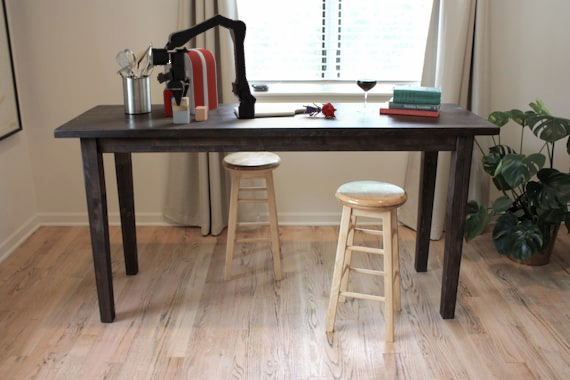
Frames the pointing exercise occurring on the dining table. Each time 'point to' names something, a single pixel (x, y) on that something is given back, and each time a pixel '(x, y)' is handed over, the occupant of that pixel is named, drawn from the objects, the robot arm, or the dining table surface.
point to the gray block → (181, 116)
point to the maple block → (181, 104)
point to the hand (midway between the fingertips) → (180, 104)
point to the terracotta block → (201, 113)
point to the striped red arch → (200, 79)
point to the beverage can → (168, 102)
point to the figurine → (326, 110)
